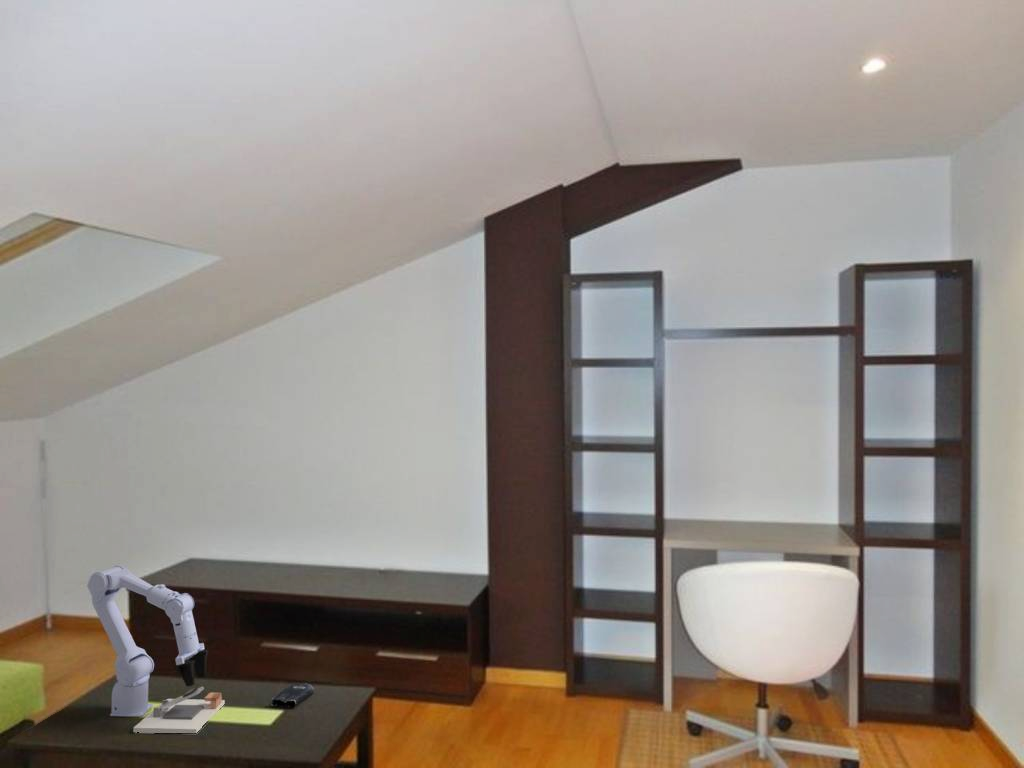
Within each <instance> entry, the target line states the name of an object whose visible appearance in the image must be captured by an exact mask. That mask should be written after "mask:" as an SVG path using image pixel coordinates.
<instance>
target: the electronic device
mask: <svg viewBox="0 0 1024 768" xmlns="http://www.w3.org/2000/svg"><path fill="white" fill-rule="evenodd" d="M314 693H315V688H314V687H313V686H312V684H309V683H295V684H291V685H289V686H287V687H286V688H284V689H282V690H281V692H279V693H277V695H276V697H272V698H269V704H270V707H271V706H274V707H276V706H275V705H276V704H277V705H278V704H280V702H282V703H284V705H283V704H281V705H282V706H280V705H279V706H280V707H279V708H281V707H283V708H284V709H285V708H286V707H288V706H289V705H288V704H287V702H293V701H294V702H293V703H294V704H293V706H292V707H293V708H292V709H294V708H296V707H297V706H298V705H299V704H301V703H302V702H303V701H304V700H305V699H308V698H309V697H311V696H312V695H314ZM285 705H286V706H285ZM286 709H287V708H286Z"/></svg>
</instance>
